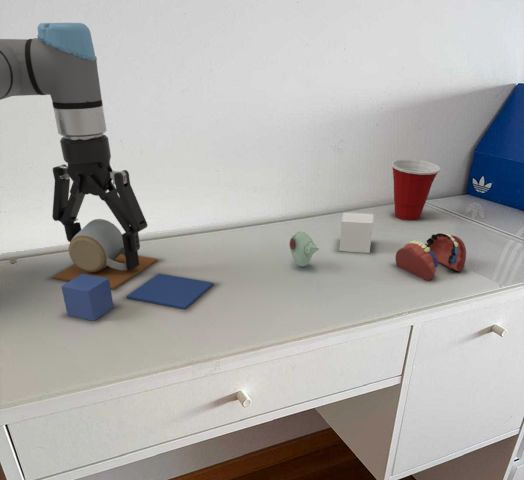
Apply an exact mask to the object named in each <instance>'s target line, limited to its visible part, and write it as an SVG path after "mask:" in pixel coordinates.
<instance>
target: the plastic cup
mask: <svg viewBox="0 0 524 480" xmlns="http://www.w3.org/2000/svg"><path fill="white" fill-rule="evenodd" d="M390 166H391V167H392V175H393V176H392V178H393V202H394V217H396V218H397V219H400V220H403V221H415V220H419V219H420V218H421V216H422V213H423V210H424V207H425V204H426V203H427V199H428V196H429V193H430V190H431V188H432V185H433V182H434V181H435V178H436V176H437V175H438V174H439V172H441V166H440V165H437V164H436V163H433V162H431V161H426V160H421V159H413V158H401V159H395V160H393V161H391V165H390Z"/></svg>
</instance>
